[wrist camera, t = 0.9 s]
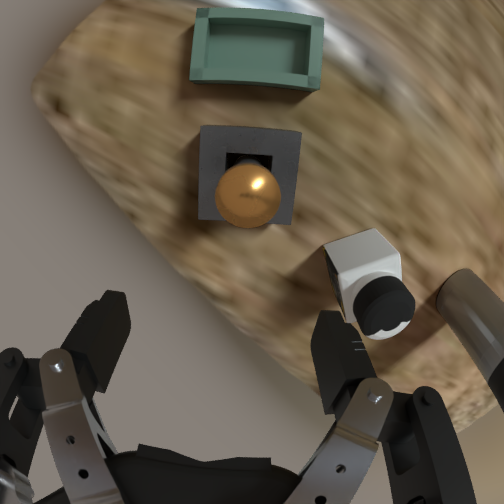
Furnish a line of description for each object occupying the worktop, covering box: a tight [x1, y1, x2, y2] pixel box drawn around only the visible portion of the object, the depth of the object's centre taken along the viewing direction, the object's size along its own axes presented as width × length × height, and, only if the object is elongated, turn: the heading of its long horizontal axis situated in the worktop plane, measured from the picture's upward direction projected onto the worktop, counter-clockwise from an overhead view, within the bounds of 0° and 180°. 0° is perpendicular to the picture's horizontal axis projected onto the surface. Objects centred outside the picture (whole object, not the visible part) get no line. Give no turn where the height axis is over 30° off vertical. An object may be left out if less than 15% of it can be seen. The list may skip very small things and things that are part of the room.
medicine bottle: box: [323, 228, 415, 340], centre depth 28 cm, size 7×7×12 cm
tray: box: [189, 8, 324, 92], centre depth 21 cm, size 12×8×3 cm, turn 86°
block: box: [198, 125, 302, 225], centre depth 27 cm, size 9×9×4 cm
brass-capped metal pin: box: [215, 155, 281, 228], centre depth 23 cm, size 4×4×11 cm
